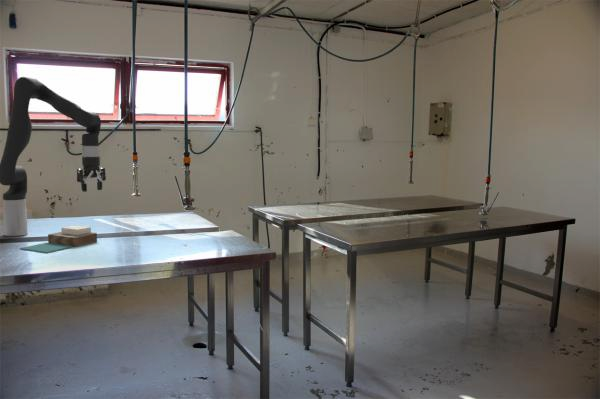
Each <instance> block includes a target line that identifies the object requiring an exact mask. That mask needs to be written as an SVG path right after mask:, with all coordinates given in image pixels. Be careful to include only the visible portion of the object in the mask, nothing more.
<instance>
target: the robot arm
mask: <svg viewBox="0 0 600 399" xmlns="http://www.w3.org/2000/svg"><path fill="white" fill-rule="evenodd" d="M31 99H32V100H38V101H42V102H43V103H47V104H48V105H50V106H51V107H52V108H53V109H54V110H55V111H57V112H58V113H59V114H62V115H63V116H66V117H68V118H69V119H71V120H72V121H74V122H75V123H76V124H78V125H79V126H82V127H84V128H85V132H84V133H82V135H81V145H82V146H81V164H82V167H83V168H78V169H76V182H77V183H79V184H80V185H81V186H80V187H81V191H82V192H84V193H85V192H87V191H88V188H87V187H88V186H87V182H88V181H90V179H93V178H94V179H95V180H96V188H97V190H98V191H102V190H103V182H104V181H106V180H107V177H106V175H107V174H106V168H105V167H100V166H101V156H100V155H101V154H100V152H101V151H100V143H99V137H100V132H101V126H102V120H101V117H100V115H99V114H98V113H96V112H91V111H86V110H84V109H83V108H82V107H81V106H80V105H79V104H77V103H75V102H73V101H71V100H70V99H67V98H65V97H64V96H62V95H60V94H58V93H56V92H55V91H53V90H52V89H51V88H49V87H48V86H47V85H45V84H44V83H43V82H41V81H40V80H38V79H37V78H32V77H25V76H21V77H18V78H17V79H16V81H15V83H14V87H13V96H12V106H11V107H12V108H11V113H10V119H9V124H8V129H7V135H6V140H5V144H4V149H3V152H2V157H1V159H0V184H1V185H2V186H5V187H6V186H7V187H9V188H8V190H7V191H5V192H4V193H3V194H2V203H3V205H2V206H3V215H2V220H3V221H2V223H3V224H2V225H3V234H4V236H6V237H19V236H24V235H28V216H27V199H26V197H27V193H28V174H27V171H26V168H24V166H21V165H18V164H17V163H18V159H19V158H20V156H21V154H22V152H24V150H25V149H26V147H27V146H28V145H29V142H30V140H31V137H32V132H33V125H32V120H31V118H30V114H29V106H30V101H31Z"/></svg>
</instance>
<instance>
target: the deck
mask: <svg viewBox="0 0 600 399" xmlns="http://www.w3.org/2000/svg"><path fill="white" fill-rule="evenodd" d="M97 234H98V233H97V232H92V231H91V233H87V234H82V235H71V234H63V233H62V231H59V232H54V233H48V235H47V239H48V240H47V243H52V244H60V245H67V246H73V247H72V248H75V247H76V248H77V247H81V246H85V245H88V244H93V243H97V242H98V235H97Z"/></svg>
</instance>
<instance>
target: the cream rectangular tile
mask: <svg viewBox="0 0 600 399" xmlns="http://www.w3.org/2000/svg"><path fill="white" fill-rule="evenodd" d="M61 232H62V233H63V234H71V235H82V234H87V233H91V232H92V228H91V226H83V225H69V226H64V227H61Z"/></svg>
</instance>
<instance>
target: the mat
mask: <svg viewBox="0 0 600 399" xmlns="http://www.w3.org/2000/svg"><path fill="white" fill-rule="evenodd" d="M72 248H74V247H73V246H67V245H60V244H52V243H48V242H43V243H38V244H33V245H28V246H23V247H20V248H19V249H20V250H23V251H29V252H36V253H43V254H49V253H54V252H59V251H63V250H68V249H72Z"/></svg>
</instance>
